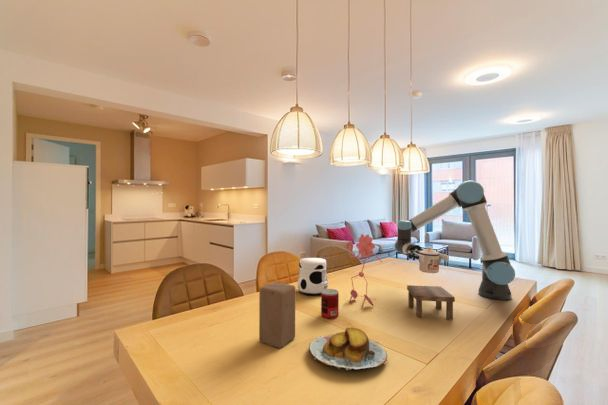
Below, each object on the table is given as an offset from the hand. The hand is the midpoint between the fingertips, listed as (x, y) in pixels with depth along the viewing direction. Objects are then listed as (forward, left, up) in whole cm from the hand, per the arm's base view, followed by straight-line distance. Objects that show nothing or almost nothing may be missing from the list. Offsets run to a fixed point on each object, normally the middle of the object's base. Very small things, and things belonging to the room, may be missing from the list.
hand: (436, 258), depth 134 cm
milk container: (+59, -22, -25) cm, 68 cm away
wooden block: (+68, +36, -25) cm, 81 cm away
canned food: (+49, +11, -25) cm, 56 cm away
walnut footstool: (+3, +2, -25) cm, 25 cm away
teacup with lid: (+1, -4, -7) cm, 8 cm away
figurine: (+31, -8, -25) cm, 41 cm away
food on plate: (+43, +43, -25) cm, 66 cm away
